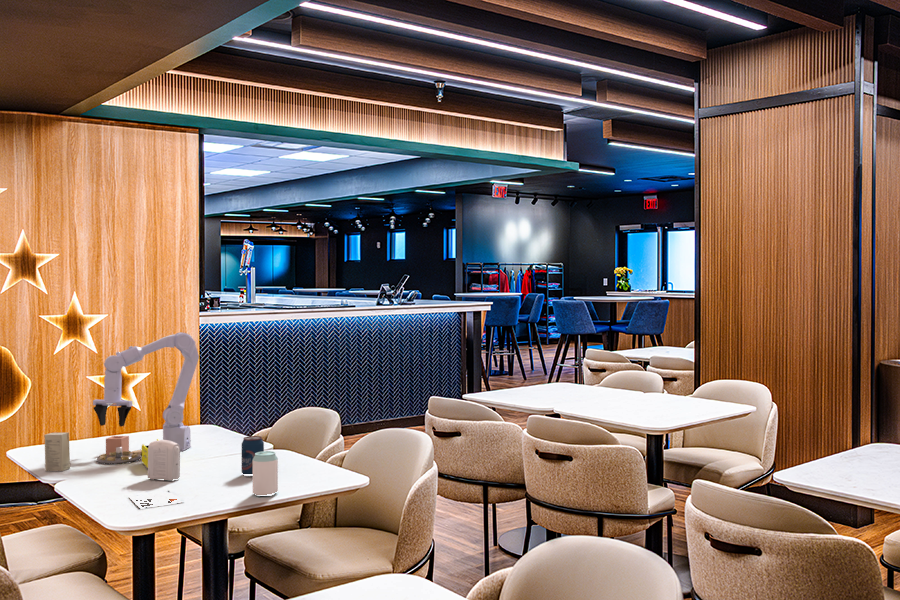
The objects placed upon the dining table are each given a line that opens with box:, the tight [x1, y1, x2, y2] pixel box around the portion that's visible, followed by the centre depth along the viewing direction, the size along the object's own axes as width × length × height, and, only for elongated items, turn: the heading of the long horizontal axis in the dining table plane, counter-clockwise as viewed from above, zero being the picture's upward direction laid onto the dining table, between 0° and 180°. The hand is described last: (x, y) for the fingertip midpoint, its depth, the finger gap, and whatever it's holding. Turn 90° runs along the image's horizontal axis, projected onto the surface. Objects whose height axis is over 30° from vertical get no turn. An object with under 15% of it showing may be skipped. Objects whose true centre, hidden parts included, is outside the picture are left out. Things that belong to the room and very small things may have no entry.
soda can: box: [241, 435, 265, 475], centre depth 240 cm, size 7×7×12 cm
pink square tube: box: [105, 435, 130, 455], centre depth 274 cm, size 6×6×6 cm
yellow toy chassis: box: [141, 438, 159, 469], centre depth 253 cm, size 16×6×8 cm, turn 31°
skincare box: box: [44, 432, 71, 472], centre depth 248 cm, size 6×4×12 cm
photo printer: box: [147, 439, 181, 481], centre depth 234 cm, size 10×4×12 cm, turn 72°
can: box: [252, 450, 279, 496], centre depth 216 cm, size 7×7×12 cm
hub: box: [96, 447, 142, 465], centre depth 263 cm, size 14×14×4 cm
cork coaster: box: [131, 449, 142, 455], centre depth 275 cm, size 9×9×1 cm
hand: (112, 425), depth 273 cm, fingers open, 7 cm apart
